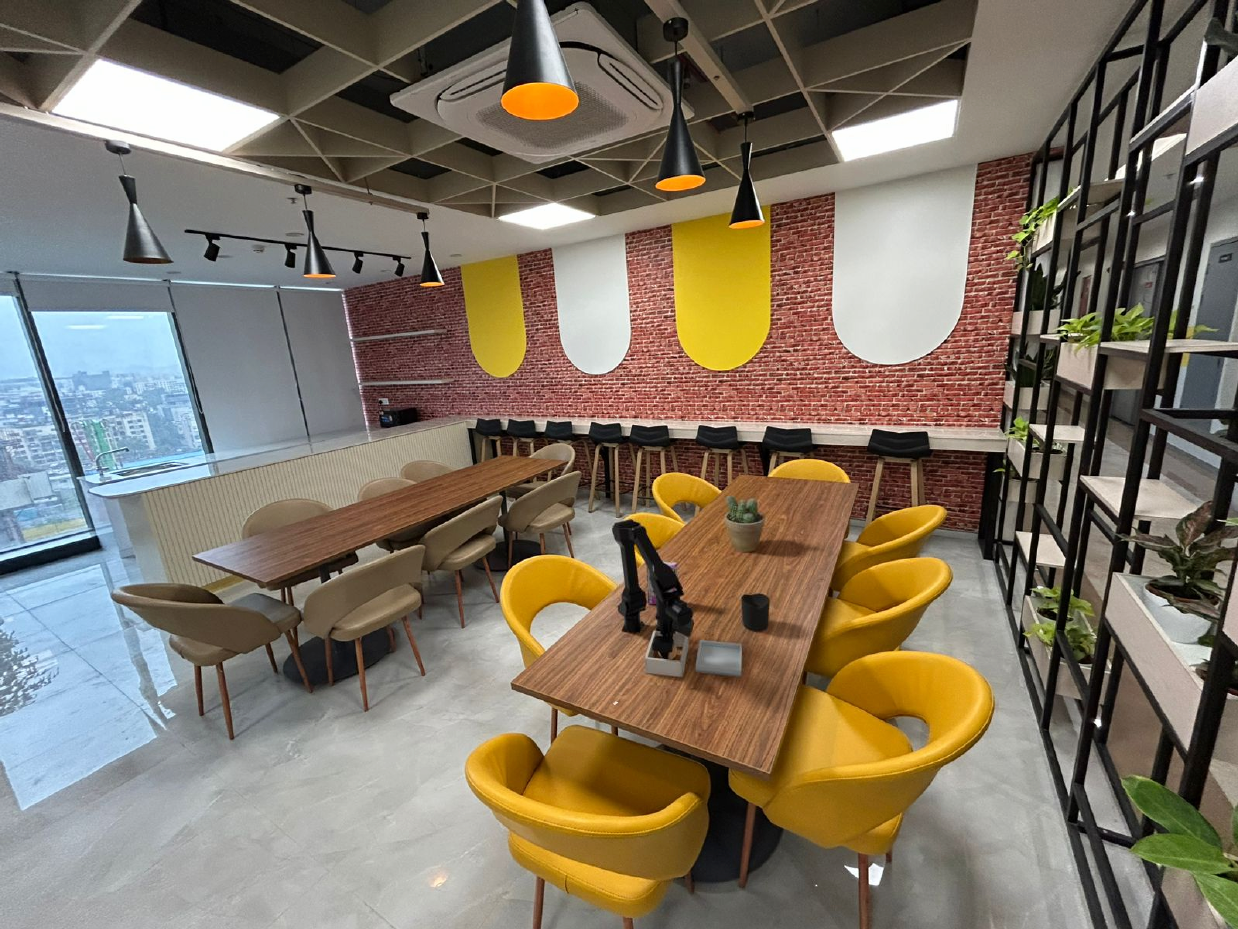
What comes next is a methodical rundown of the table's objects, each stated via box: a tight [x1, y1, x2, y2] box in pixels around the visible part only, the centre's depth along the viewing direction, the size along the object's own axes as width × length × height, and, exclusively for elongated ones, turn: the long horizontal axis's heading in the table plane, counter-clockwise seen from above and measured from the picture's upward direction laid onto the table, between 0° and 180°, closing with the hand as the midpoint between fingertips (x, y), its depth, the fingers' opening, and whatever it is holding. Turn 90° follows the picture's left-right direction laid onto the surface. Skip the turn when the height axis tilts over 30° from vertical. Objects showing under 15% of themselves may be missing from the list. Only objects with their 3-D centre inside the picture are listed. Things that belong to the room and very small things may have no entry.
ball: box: [657, 644, 678, 660], centre depth 156 cm, size 6×6×6 cm
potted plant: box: [724, 495, 766, 553], centre depth 232 cm, size 18×19×25 cm
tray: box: [695, 639, 743, 678], centre depth 155 cm, size 13×13×2 cm
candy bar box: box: [646, 561, 679, 606], centre depth 189 cm, size 11×5×16 cm, turn 74°
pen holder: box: [740, 593, 771, 632], centre depth 171 cm, size 9×9×10 cm
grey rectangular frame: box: [644, 629, 690, 678], centre depth 156 cm, size 15×11×5 cm
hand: (667, 654), depth 157 cm, fingers closed on ball, 6 cm apart
